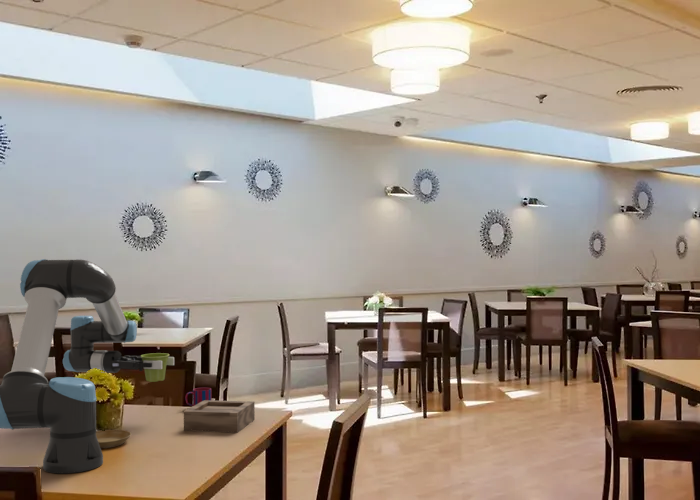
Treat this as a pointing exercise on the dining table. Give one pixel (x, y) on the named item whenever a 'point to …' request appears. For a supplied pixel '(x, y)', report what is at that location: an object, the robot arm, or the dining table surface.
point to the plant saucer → (112, 438)
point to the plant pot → (155, 374)
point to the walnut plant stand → (219, 416)
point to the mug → (199, 395)
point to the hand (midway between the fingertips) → (167, 363)
